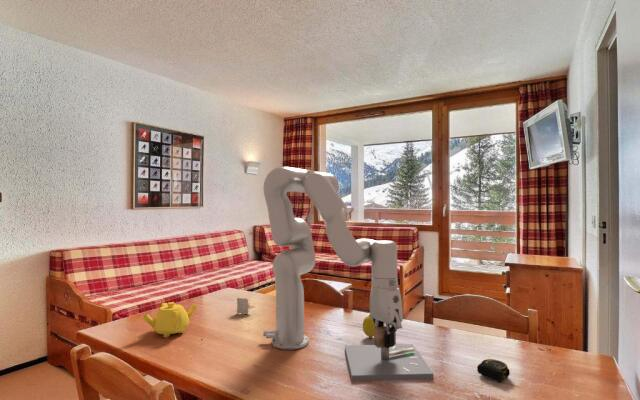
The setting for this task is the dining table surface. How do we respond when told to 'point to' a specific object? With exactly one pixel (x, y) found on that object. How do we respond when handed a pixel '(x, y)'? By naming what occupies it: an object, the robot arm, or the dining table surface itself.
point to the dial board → (385, 364)
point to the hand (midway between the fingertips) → (385, 343)
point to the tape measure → (493, 369)
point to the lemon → (368, 326)
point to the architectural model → (243, 306)
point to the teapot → (170, 319)
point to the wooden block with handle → (380, 343)
